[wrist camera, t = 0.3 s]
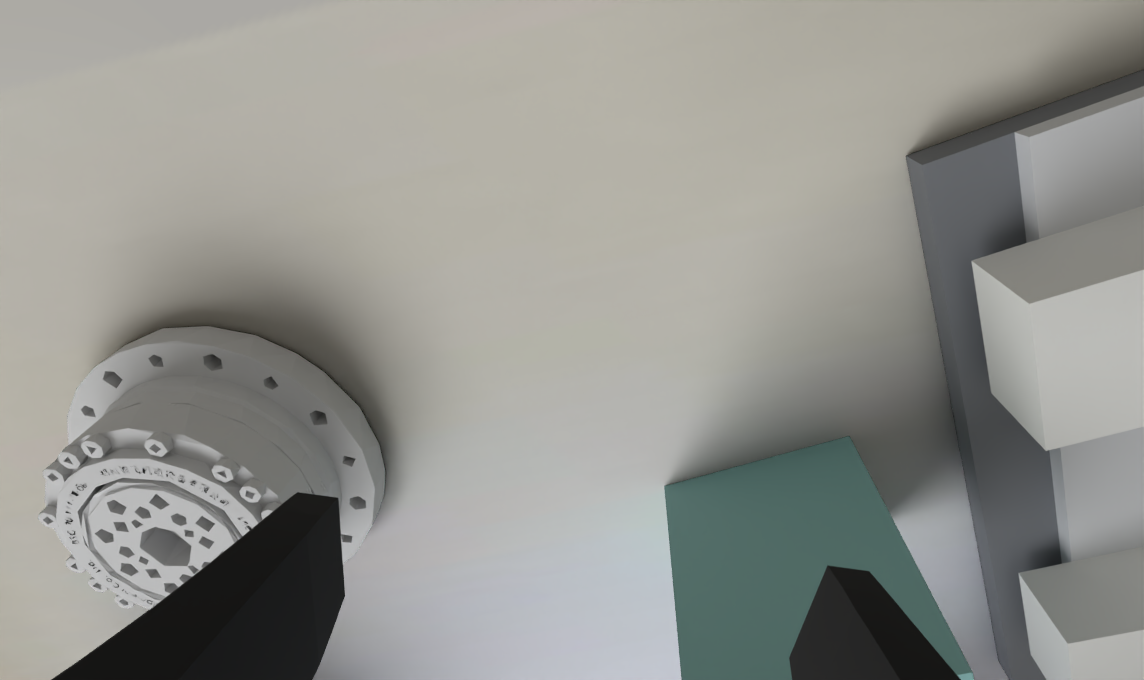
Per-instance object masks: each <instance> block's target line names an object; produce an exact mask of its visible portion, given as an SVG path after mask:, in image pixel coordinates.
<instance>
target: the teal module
mask: <svg viewBox="0 0 1144 680" xmlns="http://www.w3.org/2000/svg"><path fill="white" fill-rule="evenodd" d="M664 487H665V498H666V509H667V521H668V532H669V543H670V554H671V565H672V577H673V588H674V599H675V610H676V621H677V632H678V644H679V655H680V666H681V677H682V680H792V676H791V668H790V661H789V657H790V654H791V652H792V649H793V647H794V645H795V642H796V640H797V637H798V635H799V633H800V630H801V628H802V625H803V623H804V621H805V618H806V616H807V613H808V611H809V609H810V606H811V604H812V601H813V599H814V597H815V594H816V592H817V589H818V587H819V584H820V582H821V580H822V577H823V575H824V572H825V570H826V568H827V565H829V566H836V567H843V568H850V569H857V570H865V571H870V573H871V574H872V575H873V576H874V577H875V578H876V579H877V581H878V582H879V583H880V584H881V585H882V586H883V588H884V589H885V590H886V591H887V592H888V593H889V595H890V596H891V597H892V598H893V599H894V601H895V602H896V603H897V604H898V605H899V607H900V608H901V609H902V610H903V611H904V613H905V614H906V615H907V616H908V617H909V619H910V620H911V621H912V622H913V623H914V625H915V626H916V627H917V628H918V629H919V631H920V632H921V633H922V634H923V635H924V637H925V638H926V639H927V640H928V641H929V642H930V644H931V645H932V646H933V647H934V648H935V650H936V651H937V652H938V653H939V654H940V656H941V657H942V658H943V659H944V660H945V662H946V663H947V664H948V665H949V666H950V667H951V669H952V670H953V671H954V672H955V673H956V674H957V676H958V677H959V678H960V679H961V680H974V677H973V672H972V670H971V669H970V667H969V665H968V663H967V661H966V659H965V657H964V655H963V653H962V651H961V649H960V647H959V646H958V644H957V642H956V640H955V638H954V636H953V634H952V632H951V630H950V628H949V626H948V624H947V623H946V621H945V619H944V617H943V615H942V613H941V611H940V609H939V607H938V605H937V603H936V601H935V600H934V598H933V596H932V594H931V592H930V590H929V588H928V586H927V584H926V582H925V580H924V578H923V577H922V575H921V573H920V571H919V569H918V567H917V565H916V563H915V561H914V559H913V557H912V555H911V553H910V552H909V550H908V548H907V546H906V544H905V542H904V540H903V538H902V536H901V534H900V532H899V530H898V529H897V527H896V525H895V523H894V521H893V519H892V517H891V515H890V513H889V511H888V509H887V507H886V506H885V504H884V502H883V500H882V498H881V496H880V494H879V492H878V490H877V488H876V486H875V484H874V483H873V481H872V479H871V477H870V475H869V473H868V471H867V469H866V467H865V465H864V463H863V461H862V460H861V458H860V456H859V454H858V452H857V450H856V448H855V446H854V444H853V442H852V440H851V438H850V437H849V436H847V437H844V438H840V439H836V440H833V441H829V442H825V443H822V444H818V445H814V446H811V447H807V448H803V449H800V450H796V451H792V452H789V453H785V454H781V455H778V456H774V457H770V458H766V459H763V460H759V461H755V462H752V463H748V464H744V465H741V466H737V467H733V468H730V469H726V470H722V471H719V472H715V473H711V474H708V475H704V476H700V477H697V478H693V479H689V480H686V481H682V482H678V483H675V484H671V485H667V486H664Z"/></svg>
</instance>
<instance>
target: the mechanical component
mask: <svg viewBox="0 0 1144 680" xmlns="http://www.w3.org/2000/svg"><path fill="white" fill-rule="evenodd" d="M67 431H68V443H69V445H68V446H67V447H65V448H64V449H63V451H62V452H61V453H60V454H59V455H58V458H57V459H56V460H55V462H53V463H52V464H51V465H50V466H48V467H47V468H46V469H45V470H44V471H43V477H44V478H45V479H46V486H45V504H46V508H45V509H44V510H43V511H42V512H41V513H40V514H39V516H38V519H39V520H40V522H41V523H42V524H43V525H44V526H47V527H49V528H54V530H55V531H56V533H57V535H58V537H59V539H60V540H61V542H62V544H63V545H64V546H65V547H66V548H67V549H68V550H69V551H70V553H71V554H72V555H71V556H70V557H69V558H68V559H67V560H66V566H67V567H68V568H69V569H70V570H71V571H73V572H77V573H81V572H84V571H86V570H87V572H88V573H89V574H90V575H91V576H92V578H91V579H90V580H89V582H88V584H89V585H90V586H91V588H92V589H93V590H94V591H98V592H102V593H103V592H105V591H106V590H108V589H110V590H111V591H112V592H114V593H115V594H117V596H116V598H115V602H116V603H117V604H118V605H119V606H120V607H123V608H128V609H130V608H131V607H133V606H134V605H135V604H137V605H139V606H141V607H144V608H147V609H151V608H152V607H154V606H155V605H156V604H158V603H159V602H160V601H162V600H163V599H164V598H165V597H167V596H168V595H169V594H171V593H172V592H173V591H174V590H176V589H177V588H178V587H180V586H181V585H182V584H183V583H185V582H186V581H187V580H189V579H190V578H191V577H192V576H194V575H195V574H196V573H197V572H199V571H200V570H201V569H203V568H204V567H205V566H206V565H208V564H209V563H210V562H212V561H213V560H214V559H215V558H216V557H218V556H219V555H220V554H221V553H223V552H224V551H225V550H226V549H228V548H229V547H230V546H231V545H233V544H234V543H235V542H236V541H237V540H239V539H240V538H241V537H242V536H244V535H245V534H246V533H247V532H248V531H250V530H251V529H252V528H253V527H254V526H256V525H257V524H258V523H259V522H261V521H262V520H263V519H264V518H265V517H267V516H268V515H269V514H270V513H272V512H273V511H274V510H275V509H276V508H278V507H279V506H280V505H281V504H283V503H284V502H285V501H286V500H288V499H289V498H290V497H291V496H293V495H294V494H296V493H297V492H300V493H308V494H315V495H322V496H329V497H337V498H339V513H340V529H341V544H342V560H343V564H344V563H345V562H346V561H347V560H349V559H350V558H351V557H353V556H354V555H355V554H356V553H357V551H358V550H359V548H360V546H361V544H362V543H363V541H364V539H365V537H366V536H367V534H368V532H369V530H370V529H371V527H372V525H373V523H374V521H375V519H376V517H377V514H378V511H379V509H380V506H381V503H382V500H383V497H384V490H385V467H384V463H383V459H382V454H381V450H380V445H379V443H378V441H377V439H376V437H375V435H374V434H373V432H372V430H371V428H370V426H369V424H368V422H367V420H366V418H365V416H364V415H363V413H362V411H361V409H360V407H359V406H358V405H357V404H356V403H355V402H354V401H353V400H352V399H351V398H350V397H349V396H348V395H347V394H346V393H345V392H344V391H343V390H342V389H341V388H340V387H339V386H338V385H337V384H336V383H335V382H334V381H333V380H332V379H331V378H330V377H329V376H328V375H327V374H326V373H325V372H323V371H322V370H320V369H319V368H317V367H316V366H315V365H313V364H312V363H310V362H309V361H307V360H306V359H304V358H303V357H301V356H300V355H298V354H296V353H294V352H292V351H290V350H288V349H285V348H283V347H281V346H279V345H276V344H274V343H272V342H270V341H267V340H265V339H263V338H261V337H259V336H256V335H252V334H247V333H241V332H236V331H231V330H226V329H220V328H215V327H210V326H200V327H180V328H162V329H160V330H158V331H155V332H153V333H151V334H149V335H147V336H144V337H142V338H140V339H138V340H135V341H133V342H131V343H129V344H127V345H125V346H123V347H122V348H120V349H119V350H118V351H116V352H115V353H113V354H112V355H111V356H109V357H108V358H106V359H105V360H104V361H102V362H101V363H99V364H98V365H97V366H95V367H94V368H93V369H92V370H91V372H90V373H89V374H88V375H87V376H86V378H85V379H84V380H83V381H82V382H81V384H80V385H79V386H78V387H77V389H76V392H75V395H74V397H73V400H72V403H71V406H70V409H69V412H68V415H67Z"/></svg>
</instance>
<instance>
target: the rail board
mask: <svg viewBox="0 0 1144 680" xmlns="http://www.w3.org/2000/svg"><path fill="white" fill-rule="evenodd" d="M906 160H907V165H908V171H909V176H910V182H911V187H912V192H913V198H914V203H915V209H916V214H917V220H918V225H919V230H920V236H921V241H922V247H923V252H924V258H925V263H926V269H927V274H928V279H929V285H930V290H931V296H932V301H933V307H934V312H935V318H936V323H937V328H938V334H939V339H940V345H941V350H942V356H943V361H944V366H945V372H946V377H947V383H948V388H949V394H950V399H951V405H952V410H953V415H954V421H955V426H956V432H957V437H958V443H959V448H960V453H961V459H962V464H963V470H964V475H965V481H966V486H967V492H968V497H969V502H970V508H971V513H972V519H973V524H974V530H975V535H976V541H977V546H978V551H979V557H980V562H981V568H982V573H983V579H984V584H985V589H986V595H987V600H988V606H989V611H990V617H991V622H992V628H993V633H994V638H995V644H996V649H997V655H998V660H999V663H1000V664H1001V666H1002V668H1003V670H1004V671H1005V673H1006V675H1007V677H1008V678H1009V680H1144V70H1141V71H1139V72H1136V73H1133V74H1130V75H1128V76H1125V77H1122V78H1119V79H1117V80H1114V81H1111V82H1108V83H1106V84H1103V85H1100V86H1097V87H1095V88H1092V89H1089V90H1086V91H1084V92H1081V93H1078V94H1075V95H1073V96H1070V97H1067V98H1064V99H1062V100H1059V101H1056V102H1053V103H1051V104H1048V105H1045V106H1042V107H1040V108H1037V109H1034V110H1031V111H1028V112H1026V113H1023V114H1020V115H1017V116H1015V117H1012V118H1009V119H1006V120H1004V121H1001V122H998V123H995V124H993V125H990V126H987V127H984V128H982V129H979V130H976V131H973V132H971V133H968V134H965V135H962V136H960V137H957V138H954V139H951V140H949V141H946V142H943V143H940V144H938V145H935V146H932V147H929V148H927V149H924V150H921V151H918V152H915V153H913V154H910V155H907V156H906Z"/></svg>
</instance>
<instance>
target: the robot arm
mask: <svg viewBox="0 0 1144 680" xmlns="http://www.w3.org/2000/svg"><path fill="white" fill-rule="evenodd" d="M344 597H345V591H344V575H343V560H342V544H341V529H340V513H339V498H337V497H329V496H322V495H315V494H308V493H300V492H297V493H296V494H294V495H293V496H291V497H290V498H289V499H288V500H286V501H285V502H284V503H283V504H281V505H280V506H279V507H278V508H276V509H275V510H274V511H273V512H272V513H270V514H269V515H268V516H267V517H265V518H264V519H263V520H262V521H261V522H259V523H258V524H257V525H256V526H254V527H253V528H252V529H251V530H250V531H248V532H247V533H246V534H245V535H244V536H242V537H241V538H240V539H239V540H237V541H236V542H235V543H234V544H233V545H231V546H230V547H229V548H228V549H226V550H225V551H224V552H223V553H221V554H220V555H219V556H218V557H216V558H215V559H214V560H213V561H212V562H210V563H209V564H208V565H206V566H205V567H204V568H203V569H201V570H200V571H199V572H197V573H196V574H195V575H194V576H192V577H191V578H190V579H189V580H187V581H186V582H185V583H183V584H182V585H181V586H180V587H178V588H177V589H176V590H174V591H173V592H172V593H171V594H169V595H168V596H167V597H165V598H164V599H163V600H162V601H160V602H159V603H158V604H156V605H155V606H154V607H152V608H151V609H150V610H148V611H147V612H146V613H144V614H143V615H142V616H140V617H139V618H138V619H136V620H135V621H133V622H132V623H131V624H129V625H128V626H126V627H125V628H124V629H122V630H121V631H120V632H118V633H117V634H115V635H114V636H113V637H111V638H110V639H108V640H107V641H106V642H104V643H103V644H102V645H100V646H99V647H97V648H96V649H95V650H93V651H92V652H91V653H89V654H88V655H86V656H85V657H84V658H82V659H81V660H79V661H78V662H76V663H75V664H74V665H72V666H71V667H69V668H68V669H66V670H65V671H63V672H62V673H60V674H59V675H57V676H56V677H55V678H53V679H52V680H312V679H313V677H314V675H315V673H316V671H317V669H318V667H319V665H320V662H321V659H322V657H323V654H324V651H325V649H326V646H327V644H328V641H329V638H330V636H331V633H332V630H333V627H334V625H335V622H336V619H337V616H338V613H339V611H340V608H341V605H342V602H343V599H344ZM789 661H790V668H791V676H792V680H961V679H960V678H959V677H958V676H957V674H956V673H955V672H954V671H953V670H952V669H951V667H950V666H949V665H948V664H947V663H946V662H945V660H944V659H943V658H942V657H941V656H940V654H939V653H938V652H937V651H936V650H935V648H934V647H933V646H932V645H931V644H930V642H929V641H928V640H927V639H926V638H925V637H924V635H923V634H922V633H921V632H920V631H919V629H918V628H917V627H916V626H915V625H914V623H913V622H912V621H911V620H910V619H909V617H908V616H907V615H906V614H905V613H904V611H903V610H902V609H901V608H900V607H899V605H898V604H897V603H896V602H895V601H894V599H893V598H892V597H891V596H890V595H889V593H888V592H887V591H886V590H885V589H884V588H883V586H882V585H881V584H880V583H879V582H878V581H877V579H876V578H875V577H874V576H873V575H872V574H871V573H870V571H865V570H857V569H850V568H843V567H836V566H829V565H827V568H826V570H825V572H824V575H823V577H822V580H821V582H820V584H819V587H818V589H817V592H816V594H815V597H814V599H813V601H812V604H811V606H810V609H809V611H808V613H807V616H806V618H805V621H804V623H803V625H802V628H801V630H800V633H799V635H798V637H797V640H796V642H795V645H794V647H793V649H792V652H791V654H790V657H789Z"/></svg>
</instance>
